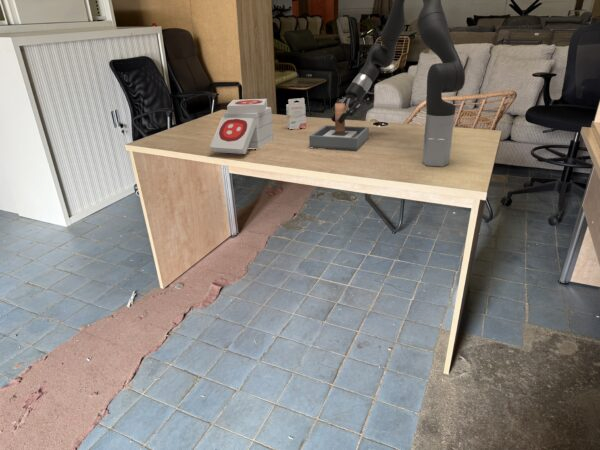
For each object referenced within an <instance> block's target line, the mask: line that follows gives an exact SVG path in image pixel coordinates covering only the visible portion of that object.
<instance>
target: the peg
mask: <svg viewBox="0 0 600 450" xmlns="http://www.w3.org/2000/svg"><path fill="white" fill-rule="evenodd" d="M334 106H335V110H334V113H335V122H334V126H335V133H336V134H344V133H345V126H346V123H345V122H346V119H345V120H344V122H343V123H342V124H340V123H339V122H338V119H339V118H340V116H341V115H342V113H343V112H344V110H345V103H336V102H335V104H334ZM343 114H344V113H343Z"/></svg>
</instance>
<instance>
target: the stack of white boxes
mask: <svg viewBox="0 0 600 450" xmlns="http://www.w3.org/2000/svg"><path fill="white" fill-rule="evenodd" d="M226 110H227V111H226V112H223V117H221V119H220V121H219V124H218V126H217V128H216V131H215V134H214V136H213V138H212V141H211V143H210V146H209V148H210V149H211V151H212V152H214V153H227V154H228V153H229V154H239V155H242V154H243V155H247V152H248V150H249V149H248V148H257V149H258V148H260V147H262V146H263V145H265V144H267V143H269V142H270V141H272V140H274V131H273V130H274V129H273V114H272V107H271V106H268V98H250V99H249V98H248V99H244V98H243V99H232V101H230V103H228V104H227V106H226Z"/></svg>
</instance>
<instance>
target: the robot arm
mask: <svg viewBox="0 0 600 450" xmlns="http://www.w3.org/2000/svg"><path fill="white" fill-rule="evenodd" d="M405 1H406V0H393V1H392V6H391V9H390V12H389V15H388V18H387V20H386V23H385V25H384V28H383V30H382V32H381V33H380V37H379V38H380V41H381V43H382V44H383V45H382V44H381V43H379V42H378V43H374V44H373V45H371V47H370V48H369V51H368V55H367V58H366V61H365V63H364V65H363V67H361V70H360V71H359V72H358V74H357V75H356V76H355V77H354V79H353V80H352V82H351V83H350V85H349V86H348V87H347V89H346V90H345V96H344V97H342V98H341V99H340V97H338V98H337V99H336V101H335V103H345V110H344V112H343V113H344V114H343V113H342V115H341V116H340V118H339V119H338V122H339V123H340V124H342V123H343V122H344V120H345V121H346V119H347V118H348V117H352V116H353V115H355V113H356V112H357V111H358V110H360V109H361V107H362V105H361V104H360V103H361V102H362V100H364V99H363V98H364V97H365V96H366V95H367V94H368V92H369V90H370V89H371V87H372V84H373V83H374V82H375V80H376V78H377V77H379V74H380V71H379V69H378V68H377V66H376V65H375V64H377V65H379V66H380V67H382V68H388V67H389V66H391V65H392V63H393V61H394V58H395V53H396V47H397V44H398V41H399V39H400V36H401V35H402V32H403V30H404V27H405V22H406V18H405ZM422 1H423V3H422V4H423V5H422V8H421V10H420V12H419V14H418V17H417V28H418V33H419V36H420V38H421V41H422V43H423V44H424V45H425V46H426V47H427V48H428V49H429V50H430V51H431V52H433V53H434V54H435V55H436V56H437V57H438V58H439V60H440V61H441V62H439V63H432V64H431V66H429V69H428V72H427V77H426V98H425V99H426V102H425V105H426V114H425V115H426V116H425V124H424V125H425V126H424V134H423V135H424V137H423V144H422V145H423V147H422V148H423V149H422V159H421V162H422V164H424V165H425V166H429V167H441V168H442V167H445V166H447V165H450V159H451V158H450V157H451V149H452V141H453V132H454V131H453V130H454V124H455V116H456V105H455V104H454V103H451V102H448V101H445V100H444V99H443V97H442V94H444V93H445V94H446V93H455V92H459V91H461V90H462V89H463V88H464V85H465V83H466V82H465V81H466V73H465V69H464V65H463V63H462V61H461V58H460V56H459V54H458V52H457V49H456V47H455V44H454V42H453V38H452V36H451V32H450V29H449V24H448V21H447V18H446V15H445V12H444V9H443V6H442V5H443V4H442V0H422ZM373 62H374V63H375V64H374V63H373ZM333 110H334V111H335V105H334V106H333ZM330 120H331V121H332V122H333V123H335V112H334V113H333V115H332V116H331V118H330Z"/></svg>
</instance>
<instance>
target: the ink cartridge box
mask: <svg viewBox="0 0 600 450" xmlns="http://www.w3.org/2000/svg"><path fill="white" fill-rule="evenodd" d="M296 101H298V102H296ZM287 102H288V104H285V107H286V108H285V109H286V112H285V113H286V124H287V129H288V128H289V129H293V128H304V127H306V128H307V119H306V118H307V116H306V115H307V114H306V113H307V112H306V104H305V98H304V97H301V98H299V97H298V98H289V99H288V100H287ZM289 129H288V130H289Z"/></svg>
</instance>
